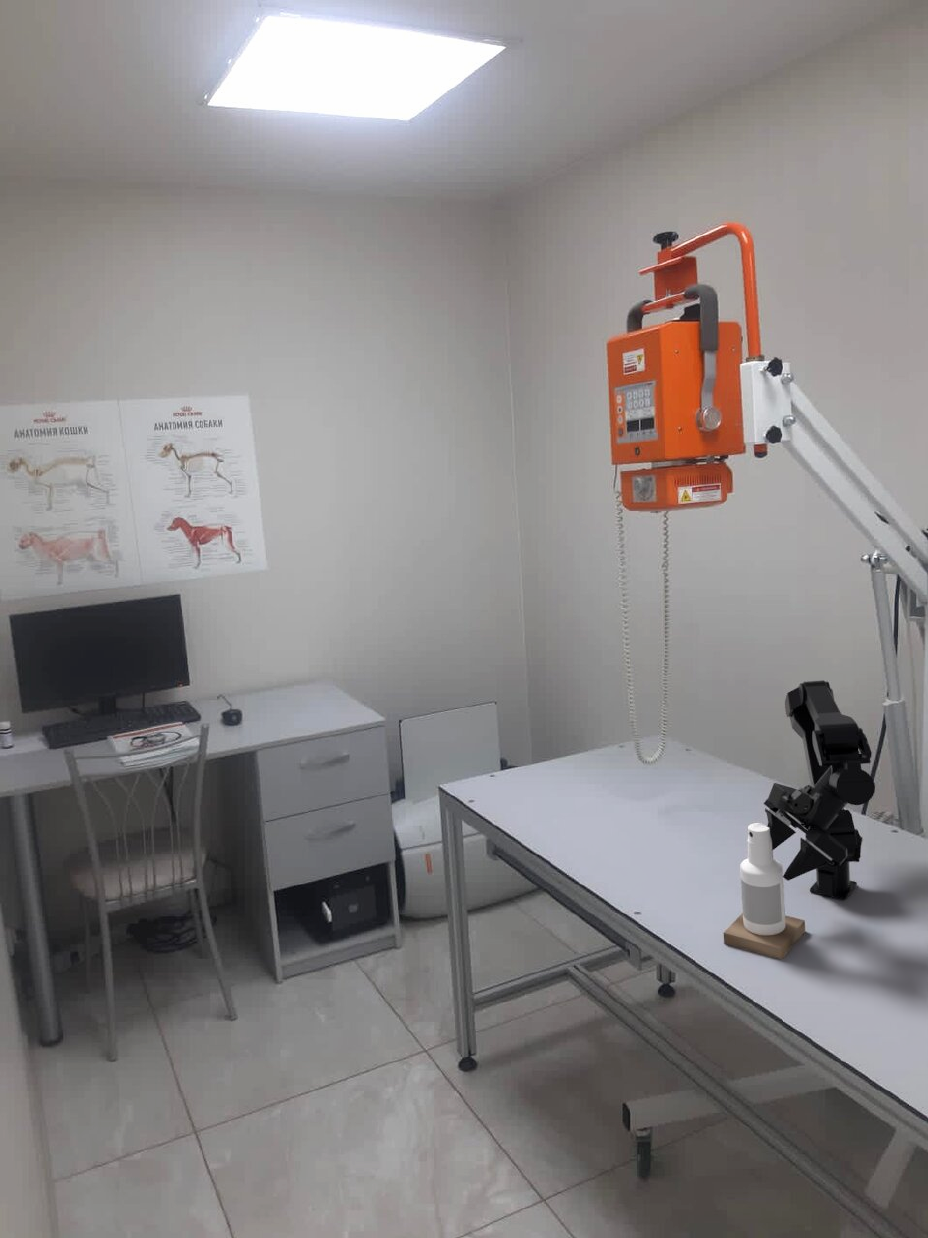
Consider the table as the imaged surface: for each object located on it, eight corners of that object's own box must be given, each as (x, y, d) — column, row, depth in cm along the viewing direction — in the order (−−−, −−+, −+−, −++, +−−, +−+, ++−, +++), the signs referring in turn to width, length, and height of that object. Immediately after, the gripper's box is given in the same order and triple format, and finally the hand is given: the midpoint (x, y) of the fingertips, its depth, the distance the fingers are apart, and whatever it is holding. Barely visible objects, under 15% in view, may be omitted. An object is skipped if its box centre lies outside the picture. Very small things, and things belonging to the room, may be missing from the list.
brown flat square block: (749, 916, 173) (748, 906, 172) (805, 931, 166) (804, 920, 166) (724, 943, 165) (723, 933, 165) (781, 959, 159) (781, 948, 158)
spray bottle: (735, 923, 167) (728, 825, 164) (767, 911, 170) (761, 815, 166) (761, 941, 161) (755, 839, 157) (794, 929, 163) (789, 829, 160)
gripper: (771, 750, 170) (715, 819, 171) (826, 787, 152) (763, 865, 153) (816, 785, 173) (760, 853, 173) (875, 825, 154) (812, 902, 155)
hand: (772, 867), depth 164 cm, fingers open, 9 cm apart
